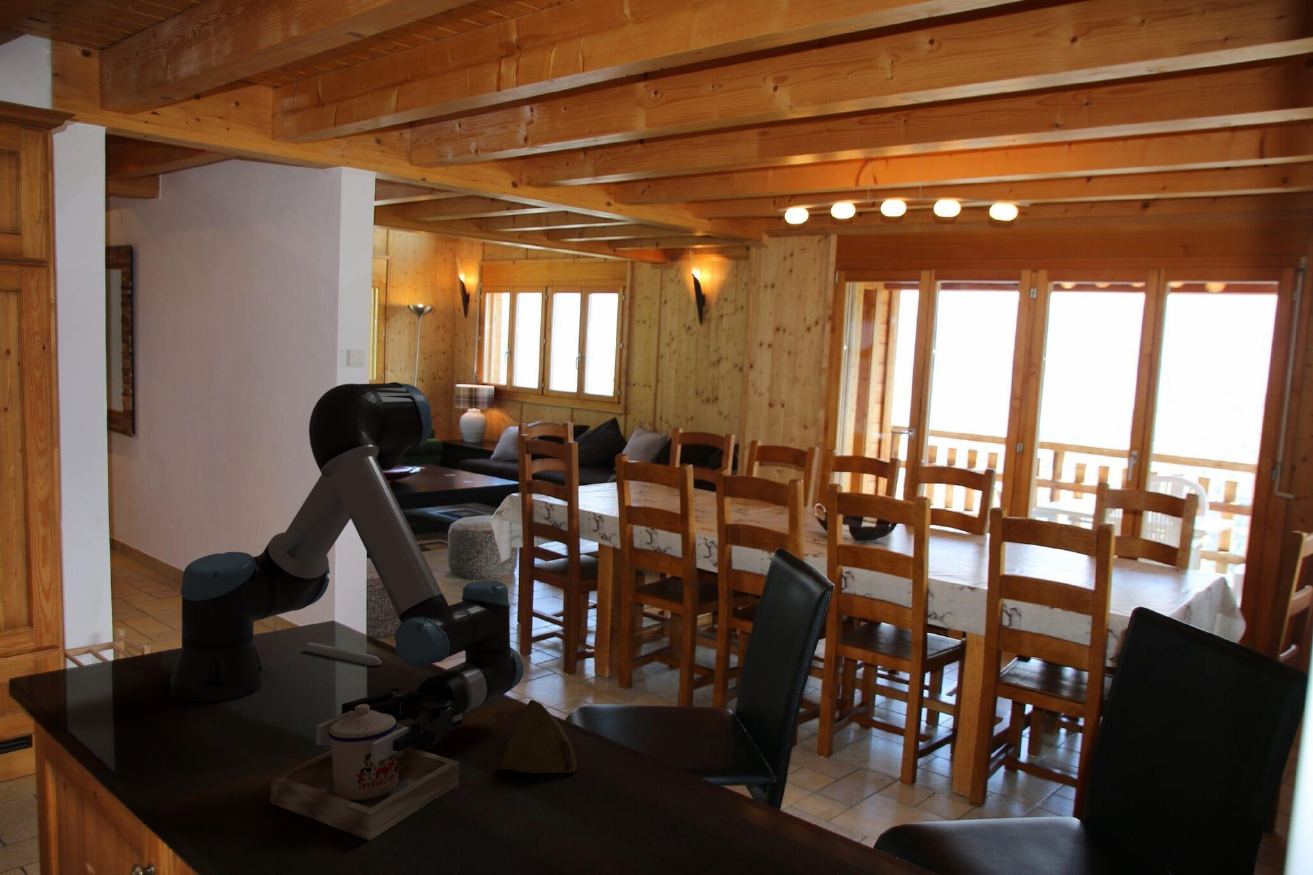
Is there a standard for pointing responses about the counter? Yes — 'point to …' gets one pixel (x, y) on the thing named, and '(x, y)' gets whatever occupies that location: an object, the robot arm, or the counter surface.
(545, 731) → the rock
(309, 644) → the marker
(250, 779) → the counter surface
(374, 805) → the housing tray
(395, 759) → the teacup with lid
